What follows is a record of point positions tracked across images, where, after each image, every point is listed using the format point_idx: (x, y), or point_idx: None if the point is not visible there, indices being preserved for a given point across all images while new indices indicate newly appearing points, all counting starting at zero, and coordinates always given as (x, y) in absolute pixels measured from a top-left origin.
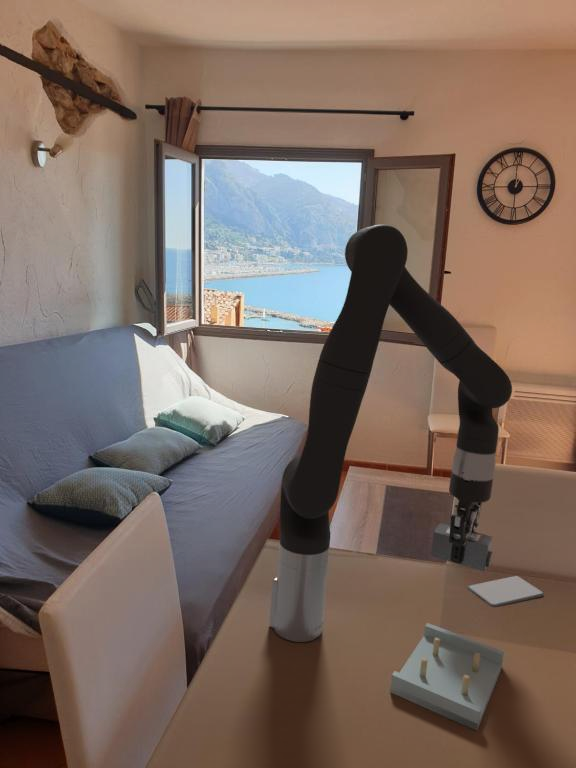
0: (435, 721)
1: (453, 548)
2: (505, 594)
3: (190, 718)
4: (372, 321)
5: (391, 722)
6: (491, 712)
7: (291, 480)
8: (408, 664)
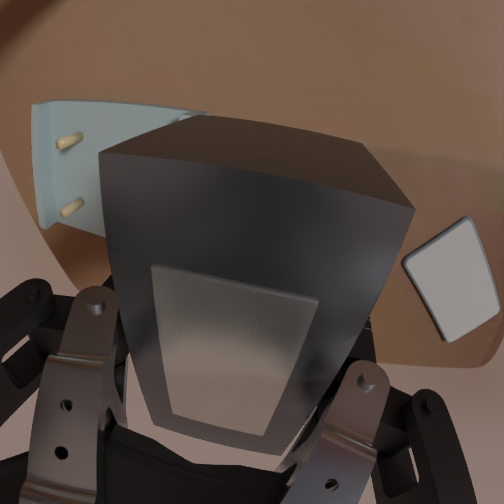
0: None
1: (111, 277)
2: (443, 289)
3: None
4: None
5: (22, 121)
6: (89, 232)
7: None
8: (92, 107)
